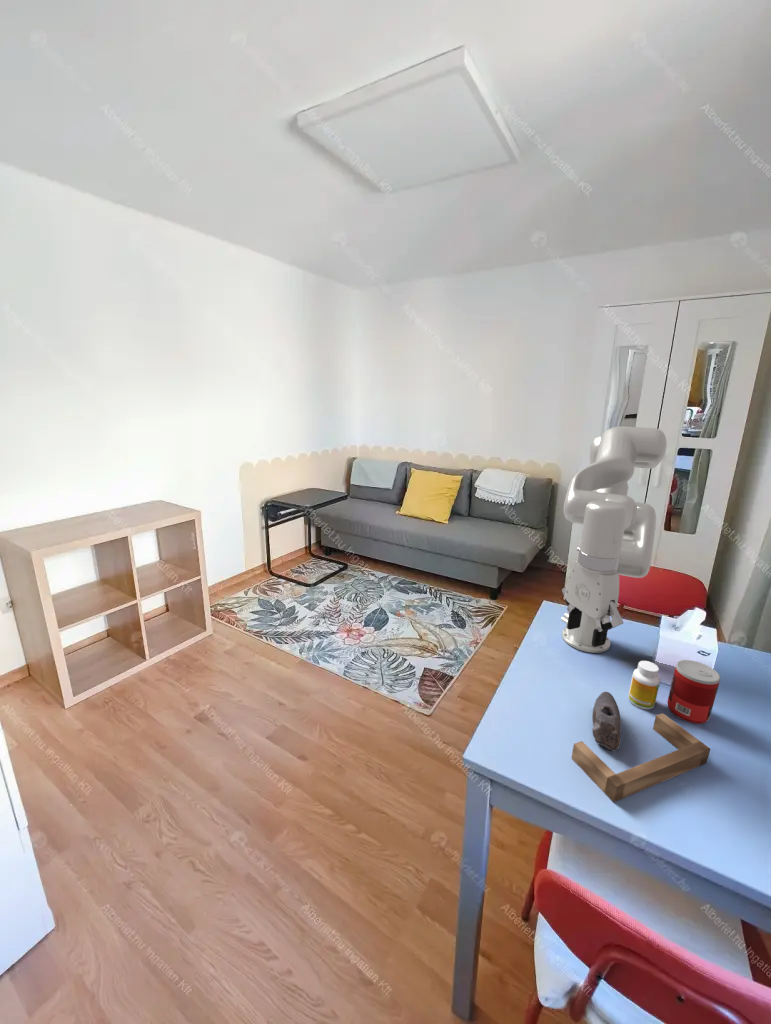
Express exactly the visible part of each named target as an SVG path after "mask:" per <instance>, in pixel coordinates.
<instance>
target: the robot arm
mask: <svg viewBox="0 0 771 1024" xmlns="http://www.w3.org/2000/svg"><path fill="white" fill-rule="evenodd" d="M665 434H666V433H664V432H663V430H661V429H658V428H655V427H639V426H638V427H637V426H636V427H635V426H622V425H621V426H613V427H610V428H608V429H607V430H605V431H604V432H603V433H602V434H601V435H598V436H595V437H594V438H593V439H592V440H591V443H590V445H589V446H590V447H589V461H590V462H589V463H590V464H588V466H586V467H584V468H582V469H580V470H579V471H578V472H577V473H576V474H574V476H573V477H572V479H570V482H569V484H568V487H567V491H566V494H565V498H564V502H563V516H564V517H565V520H566V521H568V522H570V523H571V524H577V525H582V529H581V537H580V539H579V540H578V543H577V547H576V548H577V550H576V559H575V560H574V562H573V563H572V567H570V568H571V569H570V572H569V575H568V578H567V581H566V582H567V583H566V586H565V587H563V588H562V589H561V593H562V594H563V596H564V601H565V604H566V606H567V608H566V610H567V612H565V613H564V615H563V616H562V617H561V618H560V619H561V621H562V622H563V623H565V624H566V626H565V627H564V628H563V629H562V631H561V637H562V639H563V641H564V642H565V643H566V644H568V645H569V646H571V647H572V648H574V649H576V650H579V651H582V652H586V653H592V654H593V653H594V654H596V653H597V654H599V653H604V652H606V651H608V650H609V649H610V647H611V641H610V638H609V637H608V636H607V635H608V631H609V630H612V629H614V628H616V627H619V626H621V625H623V624H624V620H623V618H622V616H621V614H620V612H619V610H618V602H619V597H620V596H619V595H620V576H625V577H629V578H637V579H640V578H644V577H646V576H647V575H648V574H649V571H650V568H651V564H652V559H653V549H654V542H655V541H654V540H655V534H656V526H657V525H656V524H657V514H656V513H657V512H656V510H655V508H654V507H653V506H652V505H651V504H648V503H644V502H640V501H635V500H634V498H632V497H631V496H628V492H629V483H628V481H630V480H631V479H632V477H633V475H634V472H635V468H637V469H639V468H640V469H654V468H656V467H657V466H658V465H660V463H661V462H662V460H663V459H664V457H665V455H666V451H667V447H668V446H667V444H668V443H667V437H666V435H665ZM624 537H628V538H631V539H626V538H624Z"/></svg>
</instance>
